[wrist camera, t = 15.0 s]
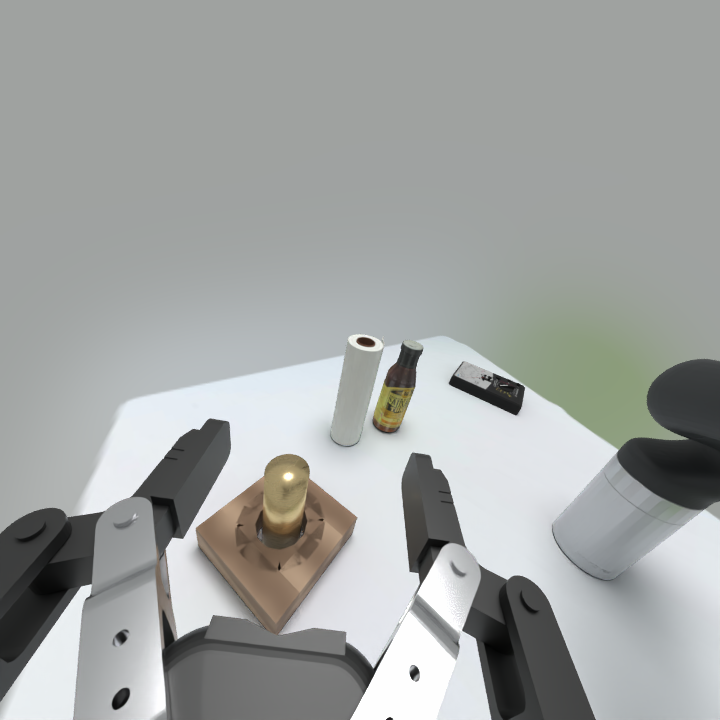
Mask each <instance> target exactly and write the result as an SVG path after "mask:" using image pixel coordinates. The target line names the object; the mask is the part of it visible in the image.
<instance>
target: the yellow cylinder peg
mask: <svg viewBox="0 0 720 720" xmlns="http://www.w3.org/2000/svg"><path fill="white" fill-rule="evenodd" d="M309 474H310V470H309V466H308V464H307V462H306V461H305V460H304V459H303V458H301V457H299V456H297V455H293V454H284V455H280V456H277V457H276V458H274V459H272V460H271V461H270V462H269V463H268V465H267V466H266V469H265V474H264V501H263V529H262V543H263V544H264V545H265V546H266V547H269V548H274V549H279V550H281V549H284V548H287V547H289V546H292V545H294V544H295V543H296V542H297V541H298V540H299V539H300V532H301V526H302V519H303V513H304V506H305V500H306V493H307V487H308V480H309Z"/></svg>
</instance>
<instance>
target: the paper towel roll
mask: <svg viewBox="0 0 720 720" xmlns="http://www.w3.org/2000/svg"><path fill="white" fill-rule="evenodd" d="M383 339H384V337H383V338H382V342H381V341H380V340H378V339H376V338H374V337H371V336H368V335H362V334H360V335H352V336H350V337H349V338H348V342H347V347H346V352H345V358H344V363H343V369H342V374H341V379H340V385H339V390H338V395H337V401H336V406H335V411H334V417H333V422H332V427H331V437H332V439H333V440H334V441H335V442H336V443H338V444H340V445H344V446H350V445H354V444H356V443H357V442H358V441H359V439H360V436H361V433H362V429H363V425H364V421H365V417H366V413H367V410H368V406H369V402H370V398H371V394H372V390H373V387H374V383H375V379H376V375H377V371H378V367H379V363H380V360H381V356H382V352H383V348H384V344H385V343H384V341H383Z"/></svg>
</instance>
